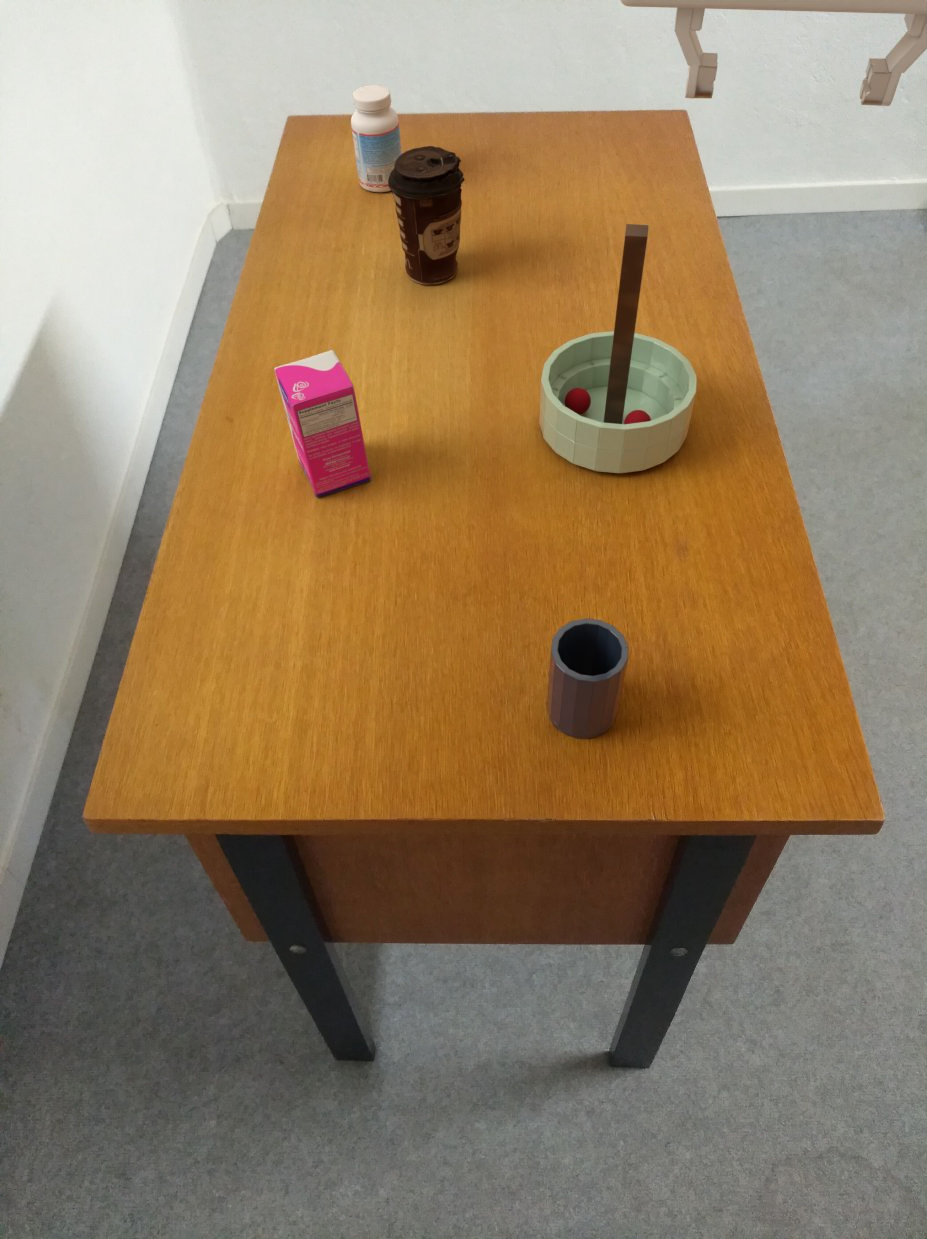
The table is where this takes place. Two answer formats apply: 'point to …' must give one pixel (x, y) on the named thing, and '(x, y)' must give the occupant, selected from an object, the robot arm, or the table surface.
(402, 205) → the coffee cup
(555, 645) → the stick holder
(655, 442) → the bowl
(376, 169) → the pill bottle
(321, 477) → the supplement box
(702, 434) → the table surface
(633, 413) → the berry
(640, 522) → the table surface
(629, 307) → the stirring stick
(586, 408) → the berry
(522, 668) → the table surface
